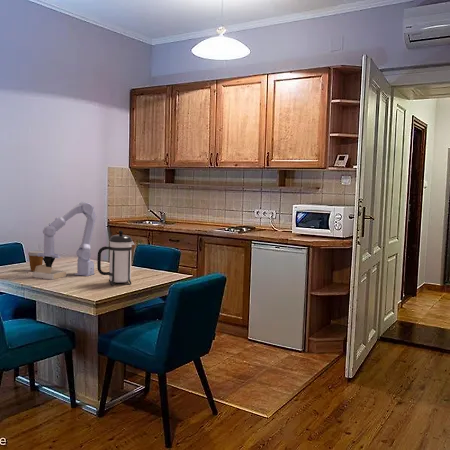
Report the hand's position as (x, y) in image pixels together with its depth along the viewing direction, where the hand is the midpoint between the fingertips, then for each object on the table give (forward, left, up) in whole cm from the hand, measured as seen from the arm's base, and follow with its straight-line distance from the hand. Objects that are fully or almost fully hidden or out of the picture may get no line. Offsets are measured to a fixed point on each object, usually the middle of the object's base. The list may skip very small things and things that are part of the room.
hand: (48, 269), depth 286 cm
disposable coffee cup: (+19, -12, -4) cm, 23 cm away
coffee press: (-45, -3, -4) cm, 45 cm away
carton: (-1, 0, -4) cm, 4 cm away
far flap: (+5, 0, +1) cm, 5 cm away
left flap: (-1, +5, +1) cm, 5 cm away
